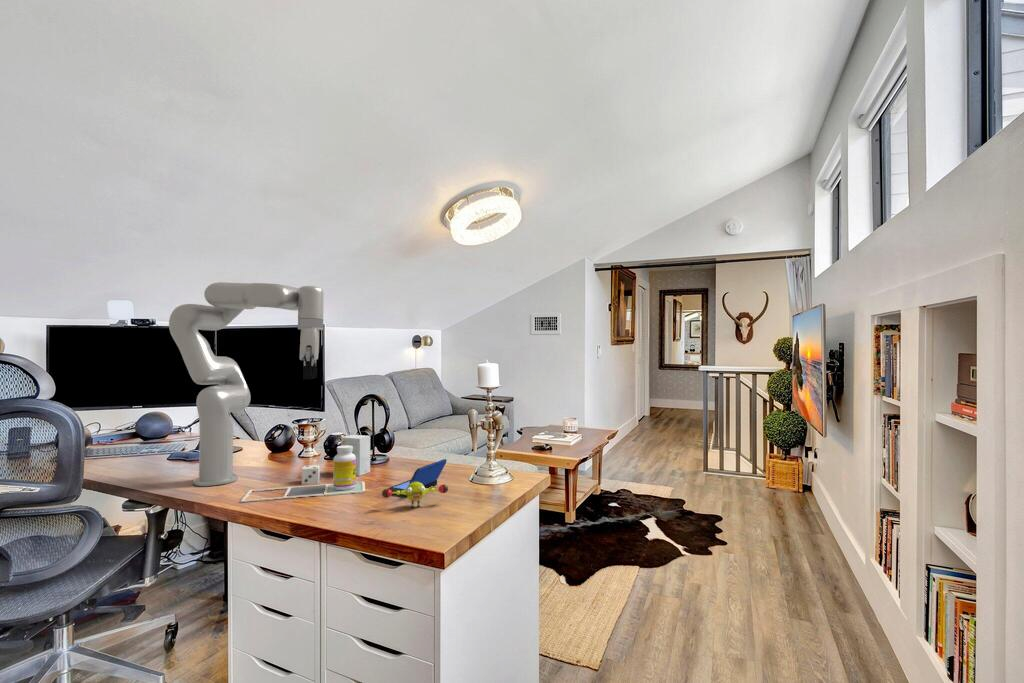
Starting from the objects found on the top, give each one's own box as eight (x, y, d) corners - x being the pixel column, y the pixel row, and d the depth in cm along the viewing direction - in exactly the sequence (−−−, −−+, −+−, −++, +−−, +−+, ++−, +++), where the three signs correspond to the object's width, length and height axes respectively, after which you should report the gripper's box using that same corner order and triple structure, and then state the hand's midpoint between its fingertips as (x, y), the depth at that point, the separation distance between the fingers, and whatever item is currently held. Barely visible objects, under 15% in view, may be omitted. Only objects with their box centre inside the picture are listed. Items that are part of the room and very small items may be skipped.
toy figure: (382, 512, 130) (382, 487, 130) (381, 506, 135) (381, 482, 135) (449, 506, 135) (449, 482, 135) (446, 501, 140) (446, 477, 140)
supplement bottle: (356, 489, 151) (356, 447, 151) (333, 491, 148) (333, 449, 149) (354, 484, 157) (355, 444, 157) (332, 486, 154) (333, 445, 155)
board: (249, 491, 150) (249, 490, 150) (364, 482, 160) (364, 481, 160) (240, 502, 138) (240, 501, 138) (365, 492, 148) (365, 490, 149)
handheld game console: (414, 482, 161) (415, 454, 162) (448, 487, 155) (448, 458, 155) (381, 494, 148) (381, 463, 148) (417, 500, 141) (417, 468, 142)
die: (303, 481, 163) (303, 465, 163) (319, 479, 164) (319, 464, 164) (301, 484, 158) (301, 469, 158) (318, 483, 159) (318, 468, 159)
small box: (370, 472, 174) (370, 435, 175) (359, 476, 168) (359, 438, 169) (351, 470, 177) (352, 434, 177) (340, 474, 171) (340, 437, 172)
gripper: (301, 326, 164) (300, 377, 163) (294, 323, 147) (293, 380, 147) (324, 326, 166) (324, 377, 166) (321, 323, 149) (320, 379, 149)
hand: (310, 378), depth 156 cm, fingers open, 9 cm apart
